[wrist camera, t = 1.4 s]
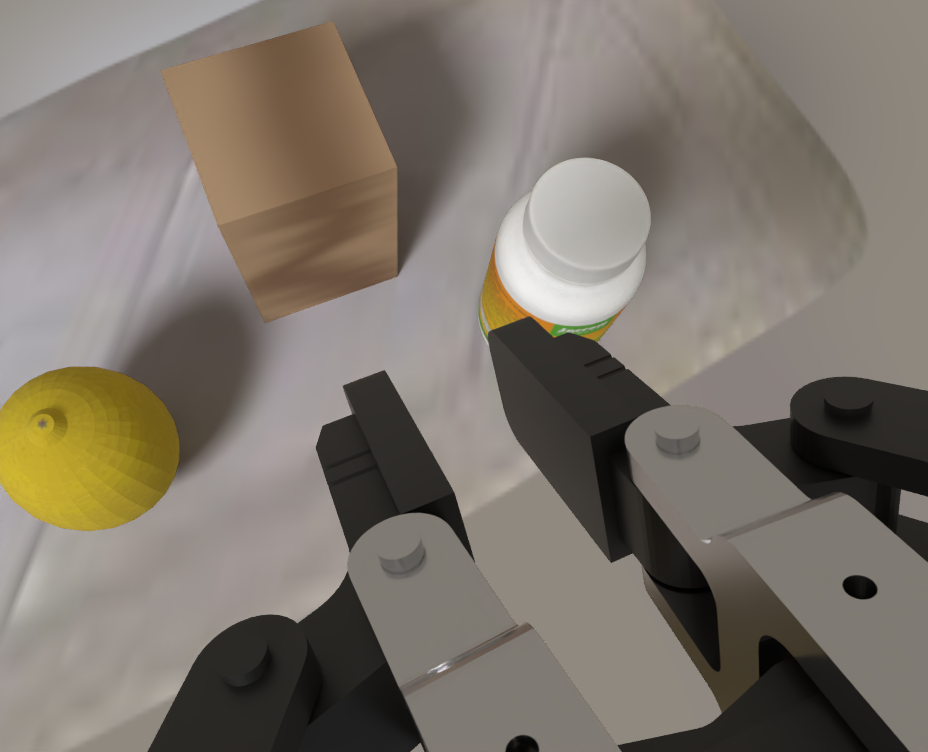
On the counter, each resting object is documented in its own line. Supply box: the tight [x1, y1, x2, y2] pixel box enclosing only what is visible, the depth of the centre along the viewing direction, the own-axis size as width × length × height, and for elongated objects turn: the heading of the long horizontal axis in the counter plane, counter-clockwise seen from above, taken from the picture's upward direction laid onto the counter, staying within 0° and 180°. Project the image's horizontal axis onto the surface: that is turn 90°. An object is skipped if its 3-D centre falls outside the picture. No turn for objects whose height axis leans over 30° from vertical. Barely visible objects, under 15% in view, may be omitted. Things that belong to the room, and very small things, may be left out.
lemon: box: [0, 367, 180, 531], centre depth 27 cm, size 6×6×8 cm
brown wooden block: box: [160, 21, 397, 323], centre depth 30 cm, size 6×6×9 cm
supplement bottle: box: [478, 158, 651, 346], centre depth 29 cm, size 5×5×10 cm
